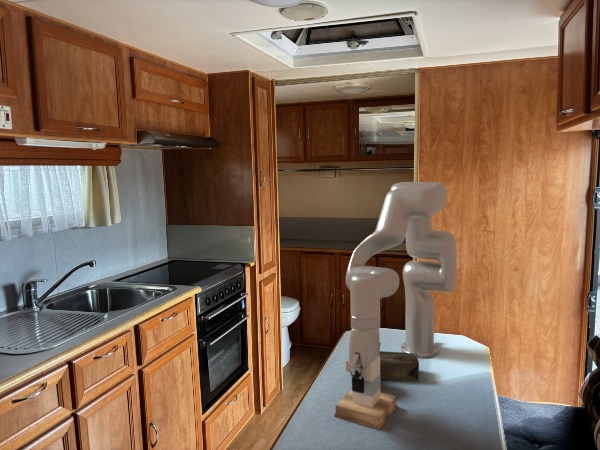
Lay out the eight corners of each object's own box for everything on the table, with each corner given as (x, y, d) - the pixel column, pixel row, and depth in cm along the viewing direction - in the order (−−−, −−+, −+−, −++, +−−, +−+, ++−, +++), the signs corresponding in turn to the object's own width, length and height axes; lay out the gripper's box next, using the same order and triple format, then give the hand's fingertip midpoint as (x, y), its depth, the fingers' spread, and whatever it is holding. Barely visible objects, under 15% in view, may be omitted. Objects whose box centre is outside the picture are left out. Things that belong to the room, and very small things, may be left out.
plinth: (354, 395, 134) (354, 385, 134) (397, 406, 127) (397, 395, 127) (334, 416, 123) (334, 405, 123) (379, 429, 117) (379, 418, 116)
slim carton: (361, 393, 129) (360, 348, 127) (380, 398, 126) (380, 352, 124) (352, 402, 124) (351, 356, 122) (372, 407, 121) (371, 360, 119)
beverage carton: (419, 382, 141) (419, 361, 140) (355, 379, 144) (354, 359, 143) (417, 370, 149) (417, 350, 148) (356, 368, 152) (355, 348, 151)
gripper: (365, 309, 131) (366, 367, 134) (337, 329, 117) (338, 394, 119) (391, 313, 127) (391, 373, 130) (365, 334, 113) (365, 401, 115)
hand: (366, 383), depth 124 cm, fingers open, 9 cm apart
